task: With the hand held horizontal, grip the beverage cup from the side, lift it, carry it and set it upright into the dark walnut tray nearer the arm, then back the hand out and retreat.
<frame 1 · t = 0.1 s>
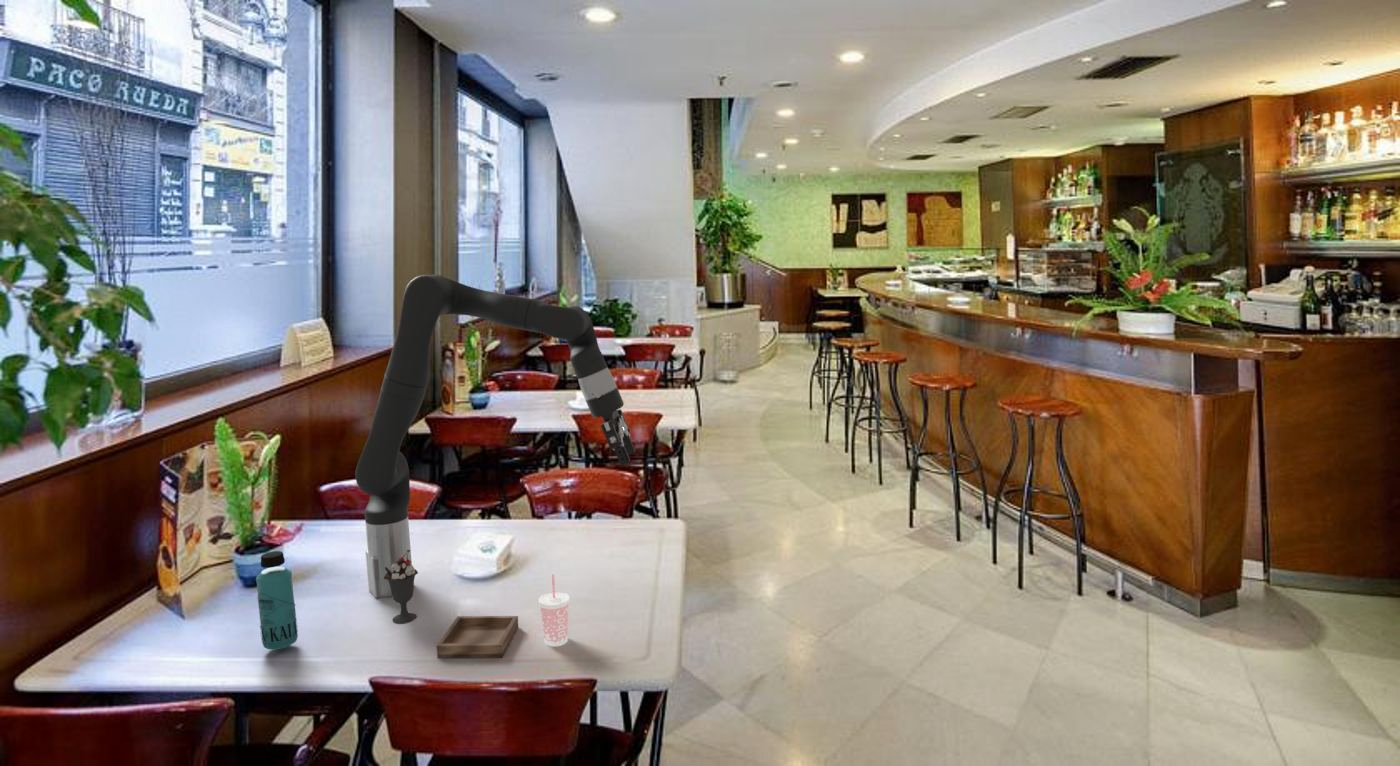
hand: (628, 458, 178), 31 cm above the table, tool tilted 20°, fingers open, 8 cm apart
beverage bottle: (281, 650, 158), on the table
beverage cup: (556, 641, 159), on the table
walnut tray: (479, 642, 159), on the table
sundae: (404, 619, 171), on the table
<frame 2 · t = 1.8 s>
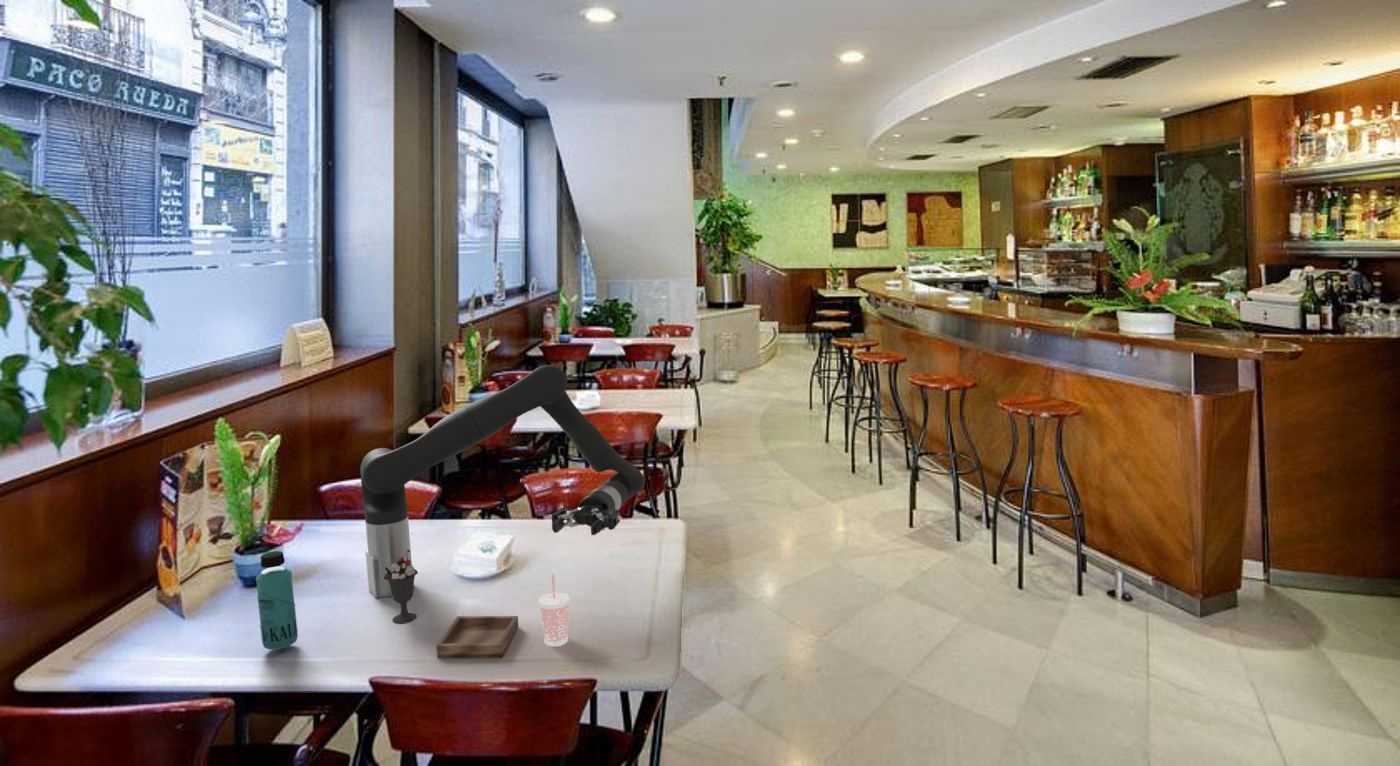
hand: (573, 529, 167), 19 cm above the table, tool horizontal, fingers open, 8 cm apart
nothing on the table moved.
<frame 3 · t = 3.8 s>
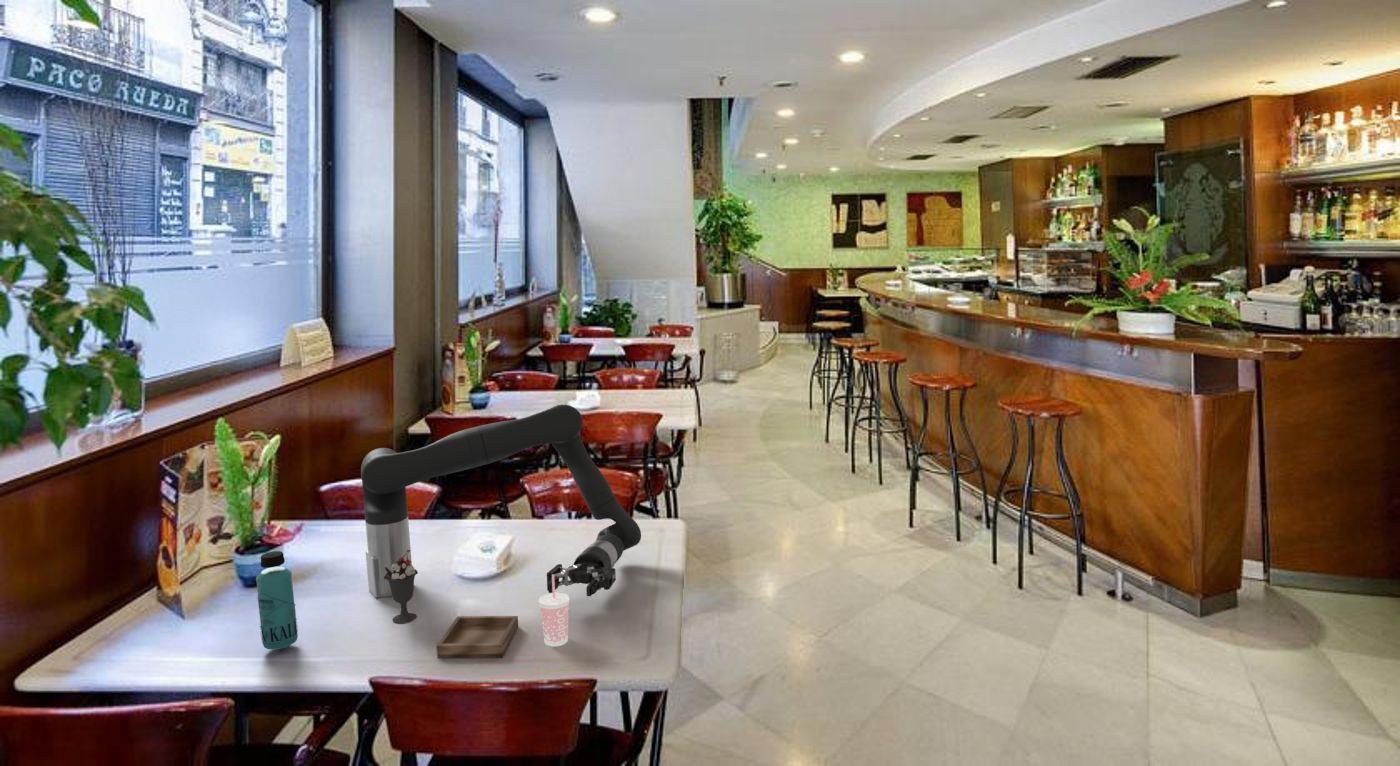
hand: (568, 590, 165), 7 cm above the table, tool horizontal, fingers open, 8 cm apart
nothing on the table moved.
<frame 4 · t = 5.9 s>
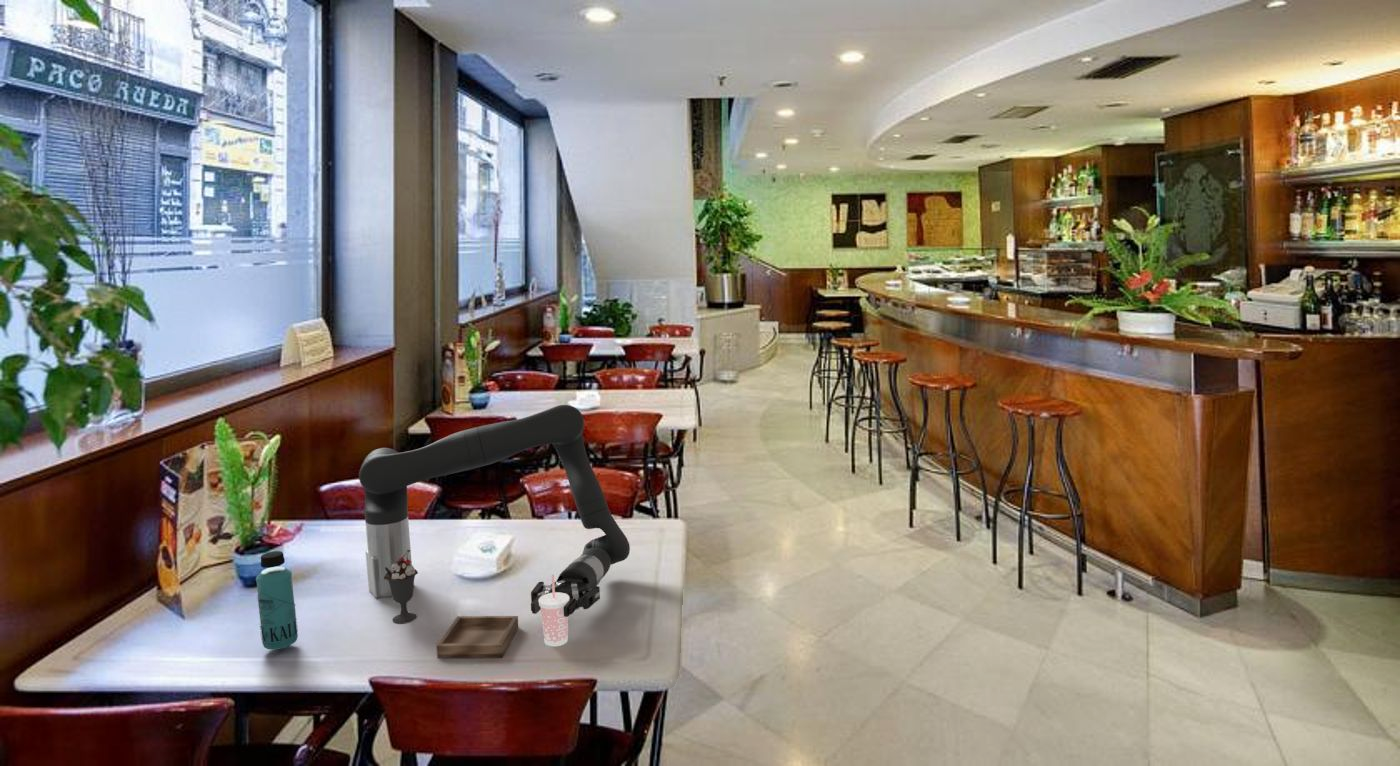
hand: (549, 610, 156), 8 cm above the table, tool horizontal, fingers closed on beverage cup, 6 cm apart
beverage cup: (556, 641, 159), on the table, touching gripper
everything else where it was.
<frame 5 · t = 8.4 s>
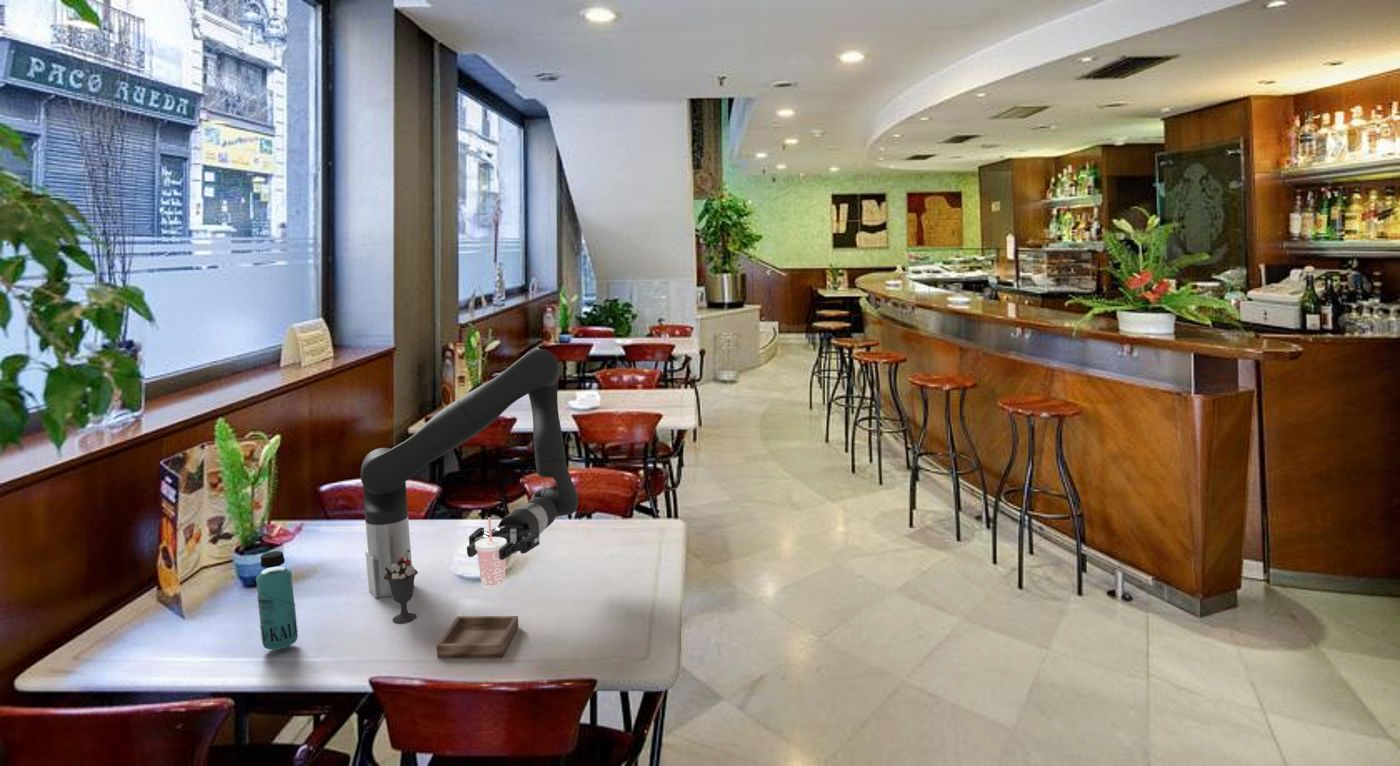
hand: (485, 553, 154), 20 cm above the table, tool horizontal, fingers closed on beverage cup, 6 cm apart
beverage cup: (493, 586, 157), point 12 cm above the table, touching gripper
everything else where it was.
when the fingers open (9 cm above the table, at t = 11.2 s): beverage cup drops 1 cm, resting on walnut tray.
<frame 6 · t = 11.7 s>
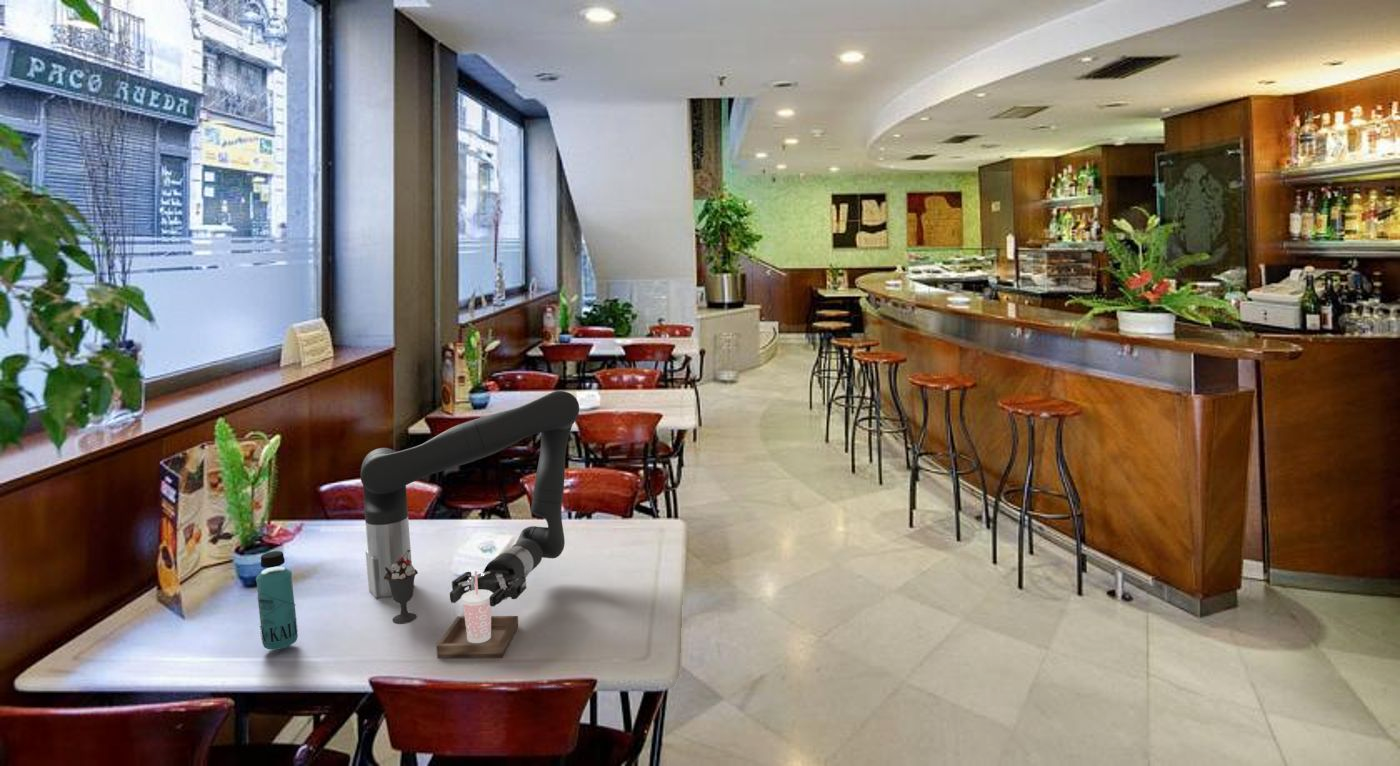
hand: (471, 600, 156), 10 cm above the table, tool horizontal, fingers open, 8 cm apart
beverage cup: (479, 638, 159), point 1 cm above the table, touching walnut tray
everything else where it was.
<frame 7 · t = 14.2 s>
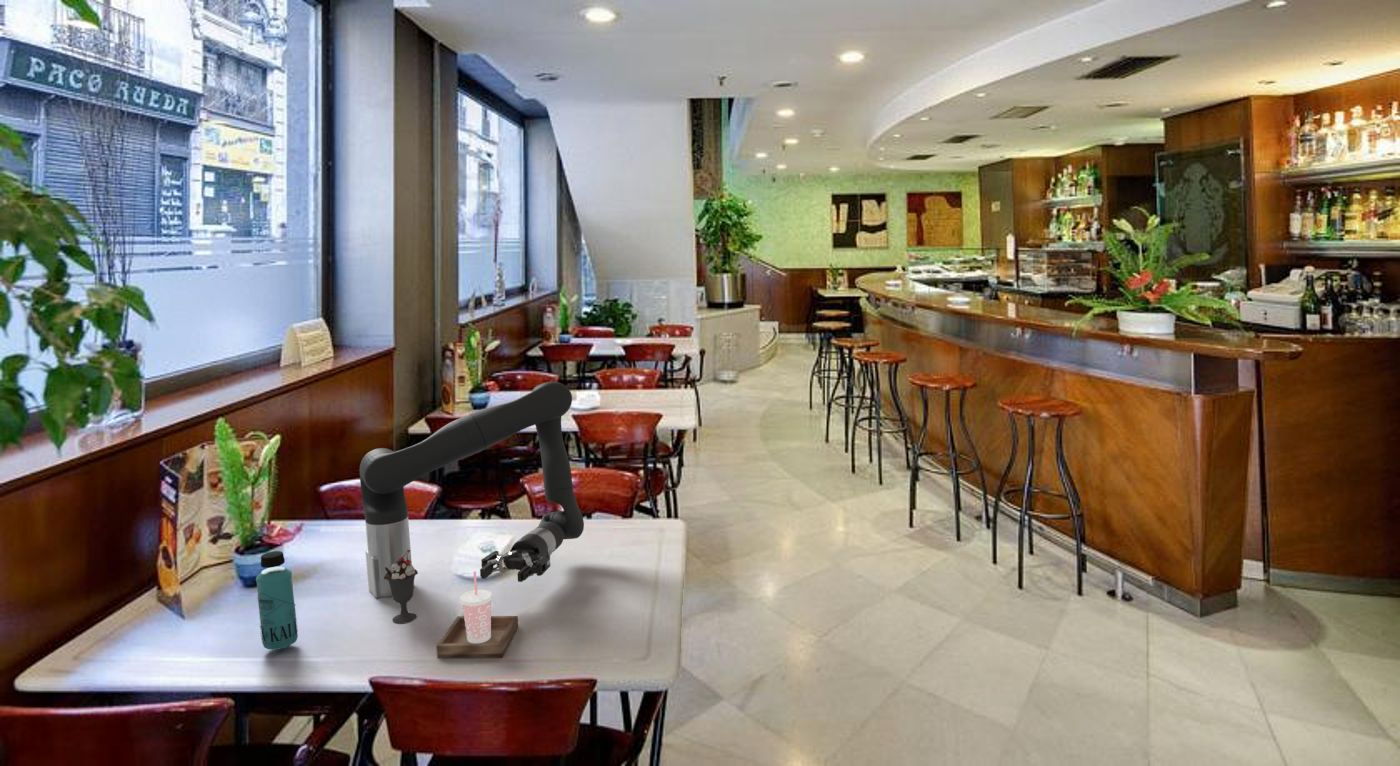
hand: (500, 576, 168), 10 cm above the table, tool horizontal, fingers open, 8 cm apart
nothing on the table moved.
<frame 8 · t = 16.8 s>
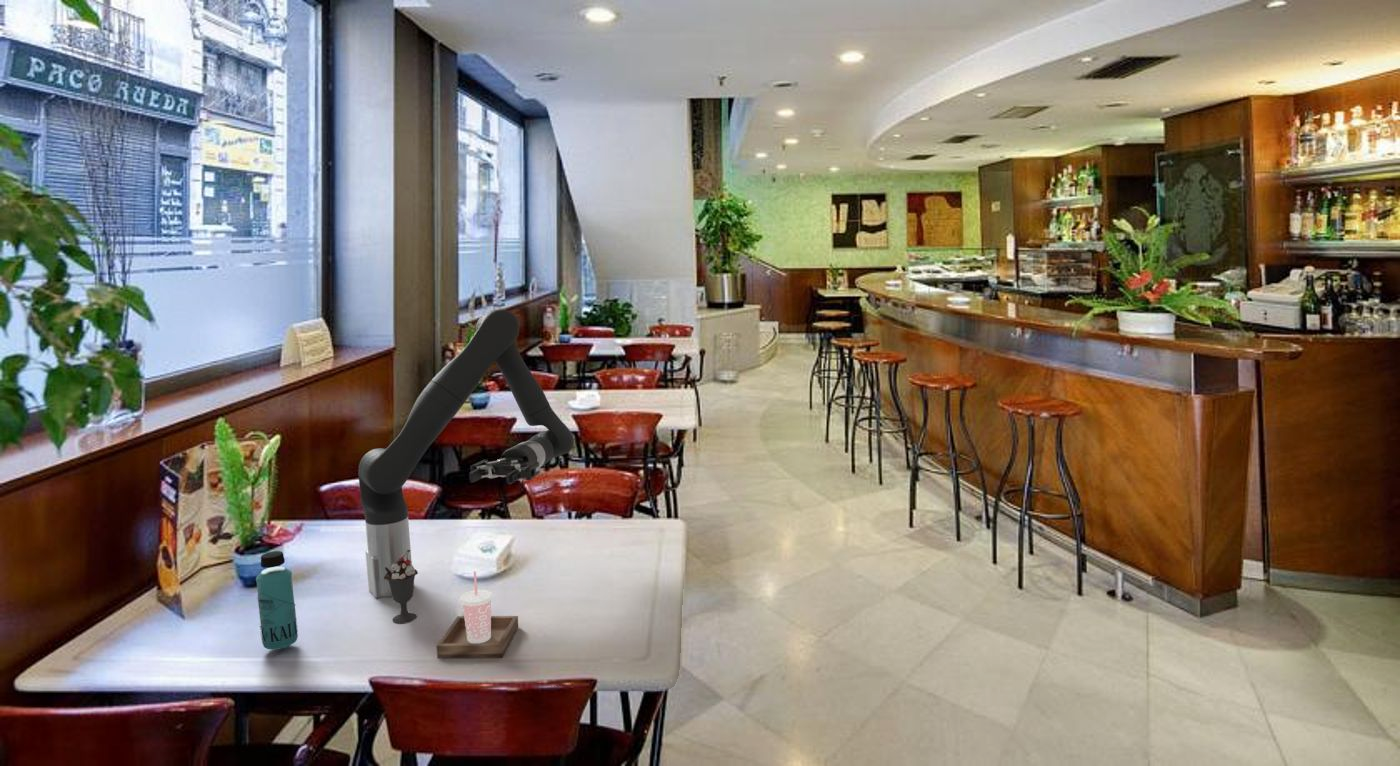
hand: (489, 478, 168), 30 cm above the table, tool horizontal, fingers open, 8 cm apart
nothing on the table moved.
at the end: beverage cup inside the target area on the walnut tray (0.2 cm from its centre), point 0.6 cm above the walnut tray's base; beverage cup tilted 0°; the gripper is holding nothing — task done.
